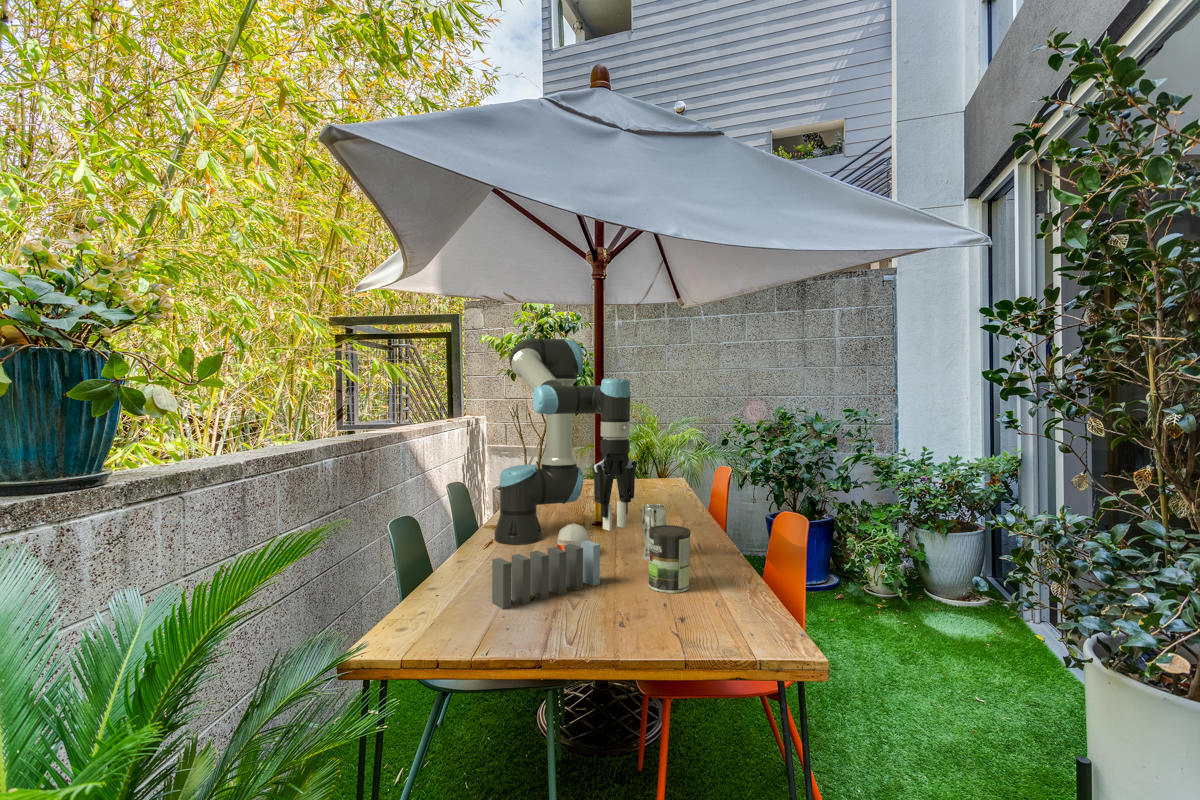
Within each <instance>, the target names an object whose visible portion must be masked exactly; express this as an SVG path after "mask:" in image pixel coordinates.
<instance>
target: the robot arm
mask: <svg viewBox="0 0 1200 800" xmlns="http://www.w3.org/2000/svg"><path fill="white" fill-rule="evenodd" d="M583 357H584V356H583V351H582V349H581V347H580V345H579V343H578V342H576V341H575V340H571V339H566V338H565V339H564V338H535V337H534V338H527V339H524V340H522V341H520V342H519V343H517V344H516V345H515V346H514V347H513V349H511V352H510V355H509V358H508V359H509V366H510V368H511V371H512V372H513V374H515V375H516V376H518V377H520V378H522V379H523V381H524V382H525V383H526V385H527V386H528V387H529V388H530V390H531V391H532V392H533V394H532V405H533V408H534V409H533V410H534V411H535V412H536V413H537V414H541V415H542V414H543V415H545V417H546V418H545V420H546V421H545V425H546V426H545V427H546V429H545V431H546V433H545V437H546V438H545V443H546V444H545V445H546V446H545V459H544V460H543V461H542V462H541V468H538V467H537V465H536V464H520V465H519V464H518V465H513V466H508V467H506V468H504V469H503V470H502V471H501V472H500V480H499V518H498V521H497V524H496V527H495V530H494V541H496V542H498V543H500V544H507V545H526V544H527V545H528V544H532V543H536V542H539V541H540V540H542V538H543V537H542V536H543V535H542V534H543V533H542V527H541V524H540V521H539V519H538V515H537V506H538V505H539V506H541V505H551V504H552V505H553V504H555V505H556V504H563V505H565V504H566V503H574V502H575V501H577V500H578V499H579V498H580V496H581V494H582V491H583V485H584V476H583V470H582V468H580V467H579V466H577V463H578V462H577V461H576V460H575V459H574V458H573V414H575V415H576V414H580V415H581V414H585V415H588V414H591V415H592V414H595V415H596V414H597V415H598V414H600V437H601V439H600V454H601V458H600V461H599V462H598V463H593V464H592V465H591V468H592V469H591V470H592V472H593V485H594V486H593V487H594V488H593V491H594V492H593V495H594V497H593V500H594V502H595V503H598V504H600V516H601V517H602V530H606V531H609V532H610V531H612V529H613V528H612V527H613V526H612V525H613V524H612V523H613V505H612V504H610V502H611V496H612V489H613V484H614V480H615V479H616V484H617V490H618V496H619V500H618V501H617V502H616V503H617V504H616V509H617V510H616V526H617V527H619V528H622V529H626V528H627V514H628V512H629V509H628V507H629V505H628V504H629V503H630V504H631V502H632V500H633V499H634V498H635V486H636V485H635V484H636V468H637V465H638V463H637V461H634V460H631V459H630V457H629V453H630V449H631V448H630V446H631V443H630V442H631V441H630V439H629V437H630V436H631V435H630V434H631V433H630V432H631V430H630V428H631V426H630V425H631V421H630V420H631V395H632V392H631V383H630V380H629V379H627V378H603V379H602V380H601V384H600V385H574V384H576V382H577V379H578V376H579V375H581V374H582V372H583V368H584V358H583Z"/></svg>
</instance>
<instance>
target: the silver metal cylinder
mask: <svg viewBox="0 0 1200 800" xmlns="http://www.w3.org/2000/svg"><path fill="white" fill-rule="evenodd" d="M666 510H667V509H666V505H664V504H661V503H660V504H659V503H647V504H643V505H642V514H641V527H642V528H641V529H642V535H643V541H644V550H643V555H642V558H643V559H644V560H646V561H649V528H651V527H654V526H659V525H667V511H666Z"/></svg>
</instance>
